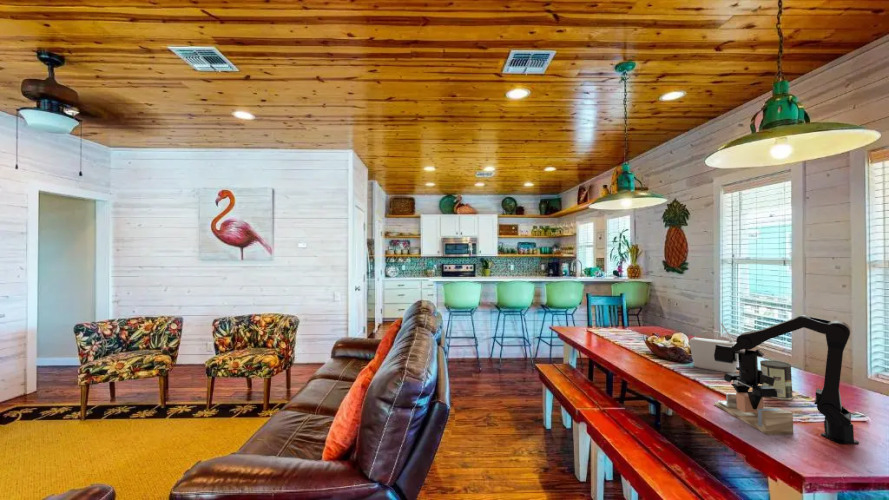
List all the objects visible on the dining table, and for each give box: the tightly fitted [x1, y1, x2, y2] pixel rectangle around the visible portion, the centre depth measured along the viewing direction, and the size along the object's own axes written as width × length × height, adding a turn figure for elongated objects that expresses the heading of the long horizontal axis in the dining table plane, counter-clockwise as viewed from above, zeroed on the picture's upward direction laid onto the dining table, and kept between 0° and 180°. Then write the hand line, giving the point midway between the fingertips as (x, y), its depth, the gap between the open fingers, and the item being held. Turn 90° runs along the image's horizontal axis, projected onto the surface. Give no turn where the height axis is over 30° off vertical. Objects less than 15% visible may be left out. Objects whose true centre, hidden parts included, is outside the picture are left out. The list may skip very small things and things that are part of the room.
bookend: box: [717, 392, 737, 408], centre depth 151 cm, size 6×7×6 cm
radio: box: [688, 322, 739, 373], centre depth 200 cm, size 22×8×25 cm, turn 43°
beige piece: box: [714, 401, 795, 436], centre depth 142 cm, size 26×9×8 cm, turn 179°
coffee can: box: [759, 359, 794, 401], centre depth 162 cm, size 10×10×14 cm
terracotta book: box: [735, 392, 765, 413], centre depth 142 cm, size 4×7×6 cm, turn 89°
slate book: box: [758, 407, 781, 427], centre depth 132 cm, size 3×7×6 cm, turn 89°
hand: (750, 406), depth 141 cm, fingers closed on terracotta book, 4 cm apart
